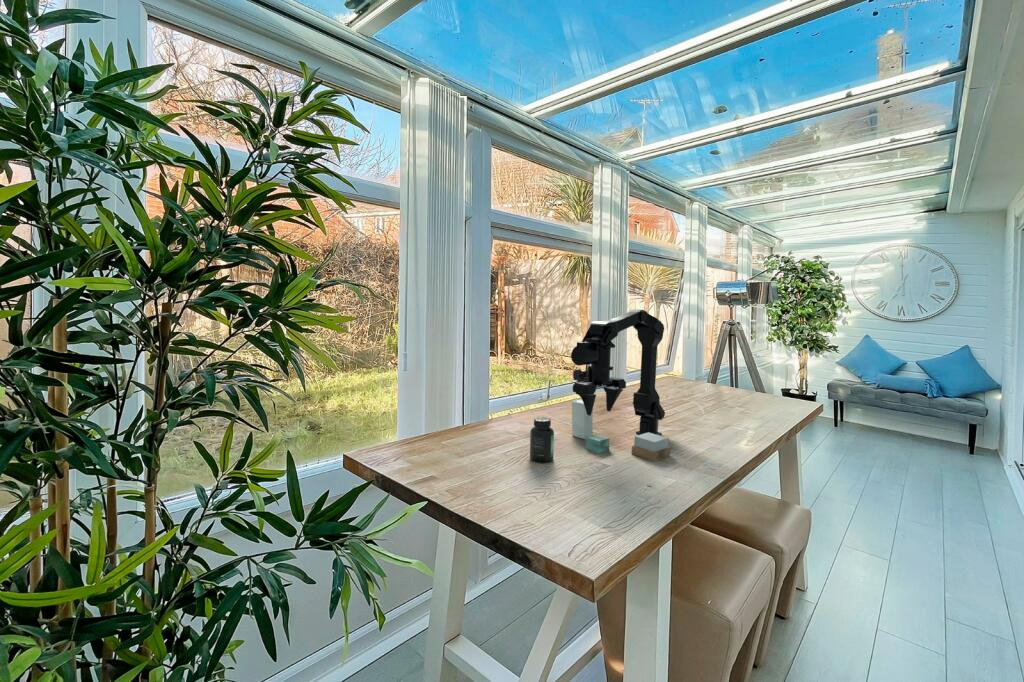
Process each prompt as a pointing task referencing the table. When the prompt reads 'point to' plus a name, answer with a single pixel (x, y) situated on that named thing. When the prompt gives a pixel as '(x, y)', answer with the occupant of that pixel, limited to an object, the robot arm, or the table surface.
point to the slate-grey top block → (651, 442)
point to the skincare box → (581, 420)
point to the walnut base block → (651, 453)
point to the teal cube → (597, 443)
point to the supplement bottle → (542, 441)
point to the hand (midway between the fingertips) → (598, 413)
